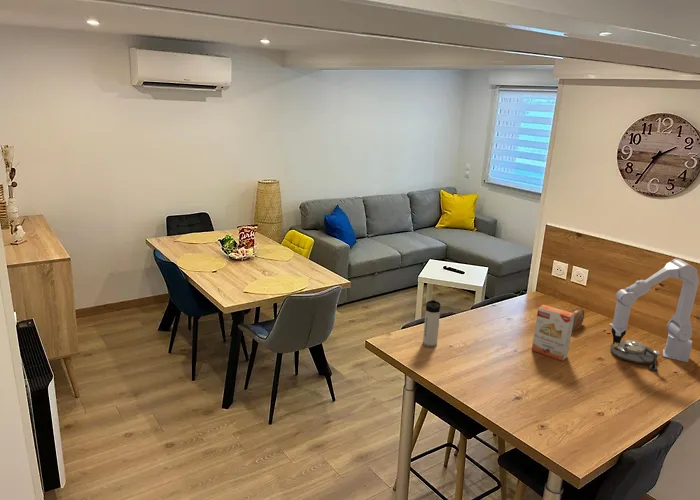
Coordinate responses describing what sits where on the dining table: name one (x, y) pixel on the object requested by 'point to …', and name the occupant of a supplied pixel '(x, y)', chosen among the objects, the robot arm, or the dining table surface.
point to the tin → (578, 318)
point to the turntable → (627, 356)
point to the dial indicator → (655, 353)
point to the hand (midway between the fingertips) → (615, 344)
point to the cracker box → (553, 332)
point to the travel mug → (431, 323)
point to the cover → (633, 347)
